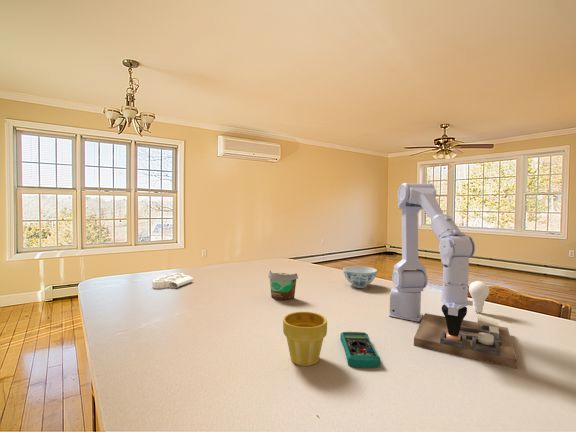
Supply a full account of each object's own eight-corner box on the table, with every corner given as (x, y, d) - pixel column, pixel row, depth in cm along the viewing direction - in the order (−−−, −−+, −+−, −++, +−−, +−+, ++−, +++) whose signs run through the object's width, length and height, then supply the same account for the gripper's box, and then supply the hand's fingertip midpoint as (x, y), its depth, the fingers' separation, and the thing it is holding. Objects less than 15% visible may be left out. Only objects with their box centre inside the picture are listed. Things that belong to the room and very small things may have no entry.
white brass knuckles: (172, 291, 130) (144, 288, 135) (197, 281, 148) (171, 278, 152) (172, 283, 130) (144, 280, 135) (197, 274, 147) (171, 272, 152)
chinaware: (351, 280, 152) (351, 264, 152) (381, 285, 143) (381, 268, 143) (337, 286, 140) (337, 269, 140) (369, 292, 131) (369, 274, 131)
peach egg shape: (445, 342, 79) (445, 335, 79) (446, 337, 82) (446, 331, 82) (460, 345, 78) (460, 338, 78) (460, 340, 81) (460, 333, 81)
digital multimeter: (348, 369, 70) (348, 356, 70) (339, 340, 85) (340, 330, 85) (381, 370, 70) (381, 357, 70) (366, 341, 85) (367, 331, 85)
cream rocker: (477, 324, 89) (478, 319, 88) (477, 320, 92) (478, 316, 92) (498, 331, 86) (499, 326, 86) (497, 327, 89) (498, 322, 89)
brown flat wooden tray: (413, 345, 82) (414, 332, 82) (424, 319, 101) (425, 308, 101) (516, 368, 71) (517, 353, 71) (507, 334, 90) (507, 322, 90)
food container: (262, 298, 120) (262, 273, 120) (269, 294, 126) (269, 270, 126) (292, 303, 116) (292, 276, 115) (297, 298, 122) (298, 273, 121)
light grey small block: (489, 340, 80) (489, 331, 80) (488, 334, 84) (489, 326, 84) (498, 342, 79) (499, 333, 79) (497, 336, 83) (498, 327, 83)
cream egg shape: (478, 343, 76) (478, 335, 76) (477, 338, 79) (478, 331, 79) (493, 346, 74) (494, 338, 74) (493, 341, 77) (493, 334, 77)
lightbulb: (491, 316, 104) (493, 284, 104) (471, 315, 106) (472, 282, 105) (484, 310, 110) (485, 279, 110) (465, 309, 112) (466, 278, 111)
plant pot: (293, 374, 67) (294, 330, 67) (276, 353, 77) (276, 314, 76) (334, 365, 71) (335, 323, 71) (313, 346, 81) (313, 309, 80)
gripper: (473, 291, 71) (471, 349, 72) (473, 279, 84) (471, 328, 84) (439, 287, 75) (437, 342, 75) (444, 275, 87) (442, 323, 88)
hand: (453, 335), depth 80 cm, fingers closed, pressing on peach egg shape
